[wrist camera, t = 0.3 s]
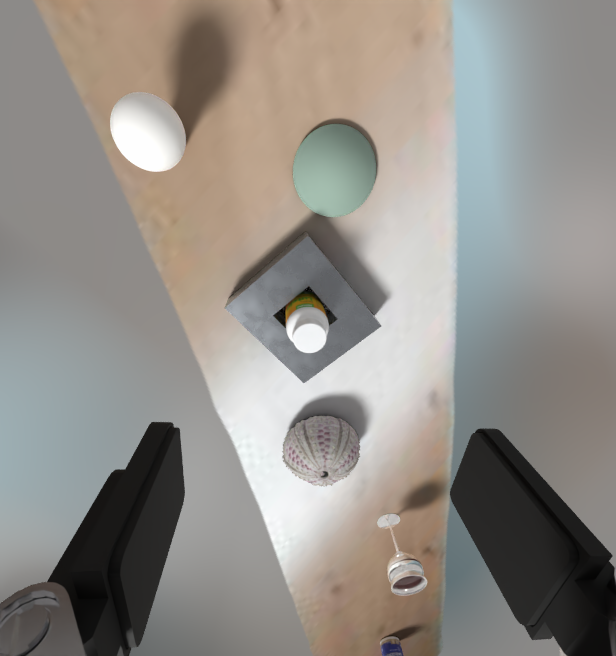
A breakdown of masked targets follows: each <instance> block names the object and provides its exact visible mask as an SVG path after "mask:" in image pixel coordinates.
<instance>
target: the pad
mask: <svg viewBox="0 0 616 656" xmlns="http://www.w3.org/2000/svg"><path fill="white" fill-rule="evenodd" d="M375 177H376V161H375V156H374V153H373V150H372V147H371V146H370V144H369V142H368V141H367V139H366V138H365V137H364V136H363V135H362V134H361V133H360V132H359V131H357V130H356V129H354V128H352V127H350V126H347V125H343V124H329V125H325V126H322V127H320V128H318V129H316V130H314V131H313V132H312V133H311V134H309V135H308V136H307V137H306V138H305V139H304V141H303V142H302V144H301V145H300V147H299V149H298V151H297V153H296V156H295V159H294V164H293V180H294V185H295V188H296V191H297V193H298V195H299V197H300V198H301V200H302V201H303V202H304V204H305V205H306V206H307V207H308V208H310V209H311V210H312V211H314V212H315V213H318V214H320V215H323V216H327V217H339V216H344V215H347V214H349V213H351V212H353V211H355V210H356V209H357V208H359V207H360V206H361V205H362V204H363V203H364V201H365V200H366V199H367V197H368V196H369V194H370V192H371V190H372V188H373V185H374V182H375Z"/></svg>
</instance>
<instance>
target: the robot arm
mask: <svg viewBox="0 0 616 656" xmlns="http://www.w3.org/2000/svg"><path fill="white" fill-rule="evenodd" d="M184 489H185V488H184V476H183V465H182V452H181V441H180V429H179V428H174V426H173V423H171V422H152V423H151V424H150V425H149V427H148V428H147V430H146V432H145V434H144V436H143V438H142V440H141V441H140V443H139V445H138V447H137V449H136V451H135V452H134V454H133V456H132V458H131V460H130V462H129V463H128V466H127V467H126V469H125V470H115V471H113V472H112V473H111V474H110V476H109V477H108V479H107V481H106V482H105V484H104V486H103V488H102V489H101V491H100V492H99V494H98V496H97V498H96V499H95V501H94V503H93V504H92V506H91V508H90V510H89V511H88V513H87V515H86V516H85V518H84V520H83V521H82V523H81V525H80V527H79V528H78V530H77V532H76V534H75V535H74V537H73V539H72V540H71V542H70V544H69V545H68V547H67V549H66V551H65V552H64V554H63V556H62V557H61V559H60V561H59V562H58V564H57V566H56V567H55V569H54V571H53V573H52V574H51V576H50V578H49V579H48V581H47V582H42V583H37V584H33V585H30V586H28V587H26V588H24V589H22V590H19V591H17V592H16V593H14V594H13V595H11V596H10V597H8V598H7V599H5V600H4V601H3V602H1V603H0V656H129V653H130V651H131V648H132V647H138V646H139V644H140V642H141V640H142V637H143V634H144V631H145V628H146V624H147V621H148V618H149V614H150V611H151V608H152V605H153V601H154V598H155V594H156V591H157V588H158V585H159V581H160V578H161V575H162V571H163V568H164V565H165V562H166V558H167V555H168V552H169V548H170V545H171V542H172V538H173V535H174V532H175V529H176V525H177V522H178V519H179V515H180V512H181V509H182V505H183V502H184V495H185V490H184ZM450 496H451V500H452V502H453V504H454V506H455V508H456V510H457V512H458V513H459V515H460V517H461V519H462V521H463V523H464V524H465V526H466V528H467V530H468V532H469V534H470V535H471V537H472V539H473V541H474V543H475V545H476V546H477V548H478V550H479V552H480V554H481V556H482V557H483V559H484V561H485V563H486V565H487V566H488V568H489V570H490V572H491V574H492V576H493V578H494V579H495V581H496V583H497V585H498V587H499V588H500V590H501V592H502V594H503V596H504V598H505V599H506V601H507V603H508V605H509V607H510V609H511V610H512V612H513V614H514V616H515V618H516V619H517V620H518V622H519V623H520V624H522V625H524V626H525V628H526V630H527V632H528V634H529V635H530V637H531V639H532V640H538V639H551V638H552V636H554V637H555V639H556V641H557V643H558V644H559V646H560V656H616V567H615V568H614V566H613V565H612V564H611V563H610V562H609V560H610V559H611V557H612V554H611V553H610V552H609V551H608V550H607V549H606V548H605V547H604V546H603V544H602V543H601V542H600V541H599V540H598V539H597V538H596V537H595V536H594V534H593V533H592V532H591V531H590V530H589V529H588V528H587V527H586V526H585V525H584V523H583V522H582V521H581V520H580V519H579V518H578V517H577V516H576V514H575V513H574V512H573V511H572V510H571V509H570V508H569V507H568V506H567V504H566V503H565V502H564V501H563V500H562V499H561V498H560V497H559V496H558V494H557V493H556V492H555V491H554V490H553V489H552V488H551V487H550V486H549V485H548V484H547V482H546V481H545V480H544V479H543V478H542V477H541V476H540V475H539V474H538V472H537V471H536V470H535V469H534V468H533V467H532V466H531V465H530V463H529V462H528V461H527V460H526V459H525V458H524V457H523V456H522V455H521V453H520V452H519V451H518V450H517V449H516V448H515V447H514V446H513V445H512V443H511V442H510V441H509V440H508V439H507V438H506V437H505V436H504V435H503V433H502V432H501V431H499V430H498V429H478V430H477V431H476V432H475V433H473V434H472V435H471V438H470V440H469V443H468V445H467V448H466V451H465V453H464V456H463V459H462V461H461V464H460V467H459V469H458V472H457V475H456V477H455V480H454V483H453V485H452V488H451V491H450Z"/></svg>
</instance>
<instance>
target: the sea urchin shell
mask: <svg viewBox="0 0 616 656" xmlns="http://www.w3.org/2000/svg"><path fill="white" fill-rule="evenodd" d="M359 441H360V440H359V439H358V435H357V434H356V432H355V430H353V428H352V426H349V424H348V423H347V422H345V421H343V420H342V419H341V418H340V419H339V418H338V419H336V418H334V417H333V416H331V417H330V416H321V415H320V416H318V417H317V416H314V417H309V418H308V419H307V420H301V422H300V423H297V424H295V427H294V428H291V430H290V431H289V432H288V433H287V437H285V441H284V444H283V454H284V455H283V458H284V460H283V461H284V462H285V464H286V467H288V469H290V470H291V471H292V473H294V474H295V476H298V477H299V478H301V479H303V480H305V481H307V482H309V483H312V485H319V486H324V487H325V486H327V485H332V484H333V483H335V482H337V481H339V480H341V479H344V477H347V475H349V473H350V472H351V471H352V470H353V469H354V468H355V466H356V464H357V462H358V460H359V459H358V458H359V457H360V456H359V455H360V454H359V450H360V445H359V443H360V442H359Z"/></svg>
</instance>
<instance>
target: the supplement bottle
mask: <svg viewBox="0 0 616 656" xmlns="http://www.w3.org/2000/svg"><path fill="white" fill-rule="evenodd" d="M285 314H286V331H287V334H288V337H289V338H290V340H291V341H292V342H293V343H294V345H295V347H296V348H297V349H298V350H300V351H302V352H304V353H314V352H317V351H319V350H320V349H321V348H322V347H323V346H324V345H325V343H326V339H327V334H328V331H329V323H328V319H327V316H326V313H325V310H324V307H323V304H322V302H321V300H320V298H319V297H318V296H317V295H316V294H315V293H313V292H310V291H302V292H301V293H300V294H299V295H297V296H296V297H295V298H294V299H292V300H291V301H290V302H289V303H288V304H286V306H285Z"/></svg>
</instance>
